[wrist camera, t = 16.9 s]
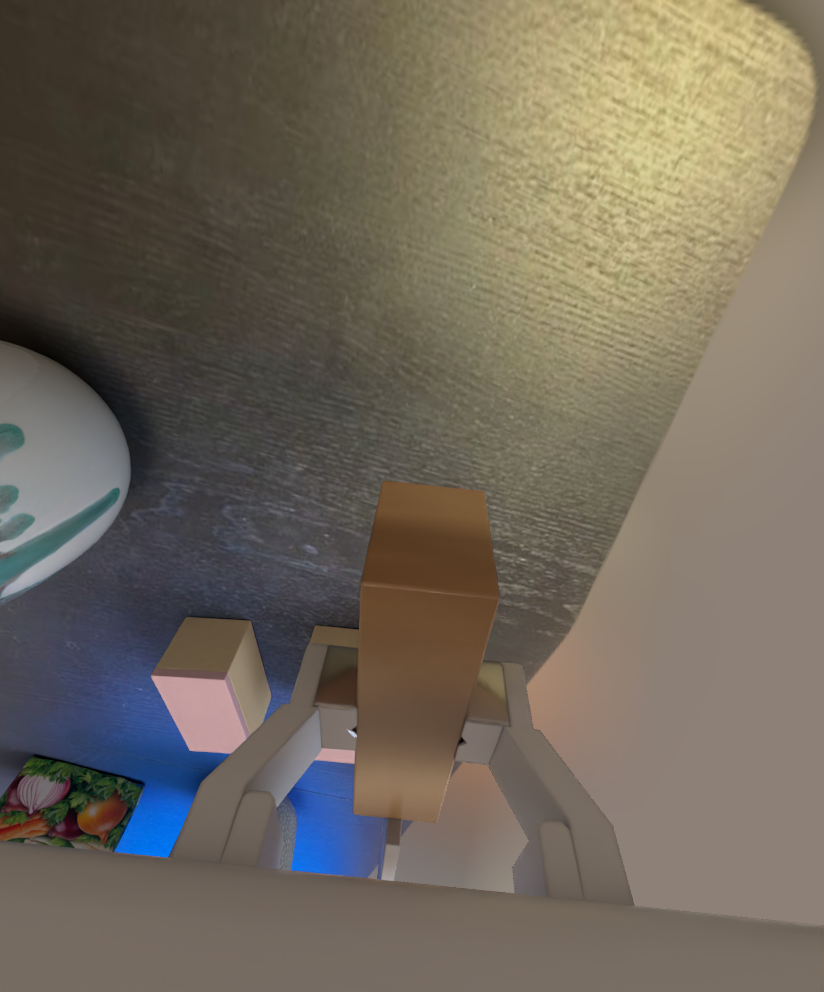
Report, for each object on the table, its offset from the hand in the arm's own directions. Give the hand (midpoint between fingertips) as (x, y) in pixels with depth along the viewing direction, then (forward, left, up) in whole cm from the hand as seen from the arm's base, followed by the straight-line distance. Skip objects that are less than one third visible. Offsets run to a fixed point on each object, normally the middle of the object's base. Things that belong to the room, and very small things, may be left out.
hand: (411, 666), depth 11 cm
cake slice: (+14, +23, -15) cm, 30 cm away
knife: (0, +7, -2) cm, 7 cm away
